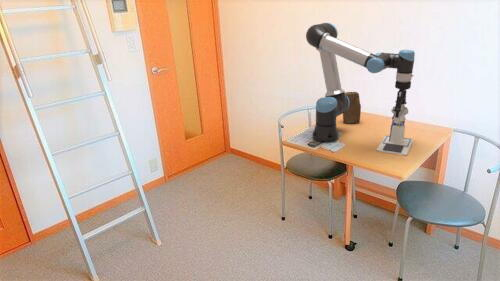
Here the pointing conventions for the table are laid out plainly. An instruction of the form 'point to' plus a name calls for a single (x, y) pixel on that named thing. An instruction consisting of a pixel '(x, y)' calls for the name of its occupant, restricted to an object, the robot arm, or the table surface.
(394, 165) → the table surface
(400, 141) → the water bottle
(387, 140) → the stamp station
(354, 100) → the block
